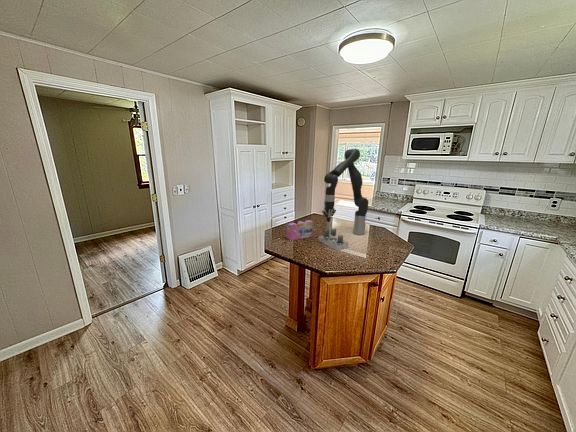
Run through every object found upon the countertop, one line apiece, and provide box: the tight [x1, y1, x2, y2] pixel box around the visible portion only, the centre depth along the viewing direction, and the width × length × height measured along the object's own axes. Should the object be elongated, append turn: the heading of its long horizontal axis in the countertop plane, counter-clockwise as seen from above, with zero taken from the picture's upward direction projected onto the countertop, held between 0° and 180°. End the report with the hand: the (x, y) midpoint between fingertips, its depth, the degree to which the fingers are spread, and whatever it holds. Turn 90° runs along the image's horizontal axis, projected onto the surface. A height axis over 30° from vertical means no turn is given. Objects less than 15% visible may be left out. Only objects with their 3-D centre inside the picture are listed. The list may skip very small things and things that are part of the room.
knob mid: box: [330, 227, 337, 237], centre depth 182 cm, size 4×4×5 cm
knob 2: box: [337, 234, 344, 243], centre depth 176 cm, size 4×4×5 cm
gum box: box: [285, 219, 314, 241], centre depth 198 cm, size 24×8×14 cm, turn 119°
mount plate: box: [317, 233, 350, 251], centre depth 184 cm, size 12×22×4 cm, turn 30°
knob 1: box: [323, 228, 330, 237], centre depth 190 cm, size 4×4×5 cm
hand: (328, 221), depth 186 cm, fingers closed
